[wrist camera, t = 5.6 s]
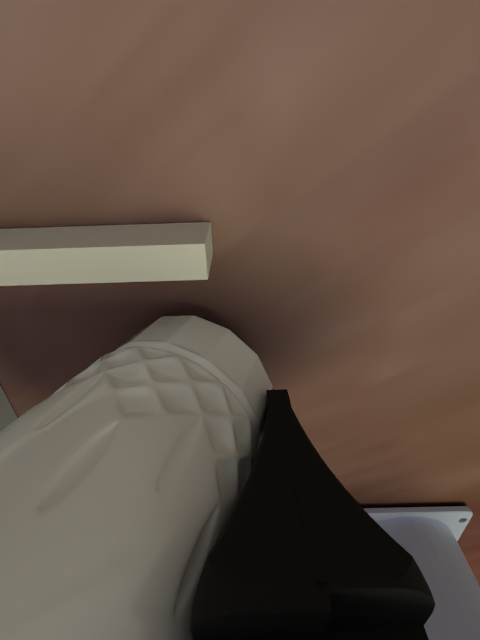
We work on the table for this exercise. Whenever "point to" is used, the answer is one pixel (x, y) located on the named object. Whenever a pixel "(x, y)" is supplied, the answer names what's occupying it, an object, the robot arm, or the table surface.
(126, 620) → the white cup
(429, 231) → the table surface
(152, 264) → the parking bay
